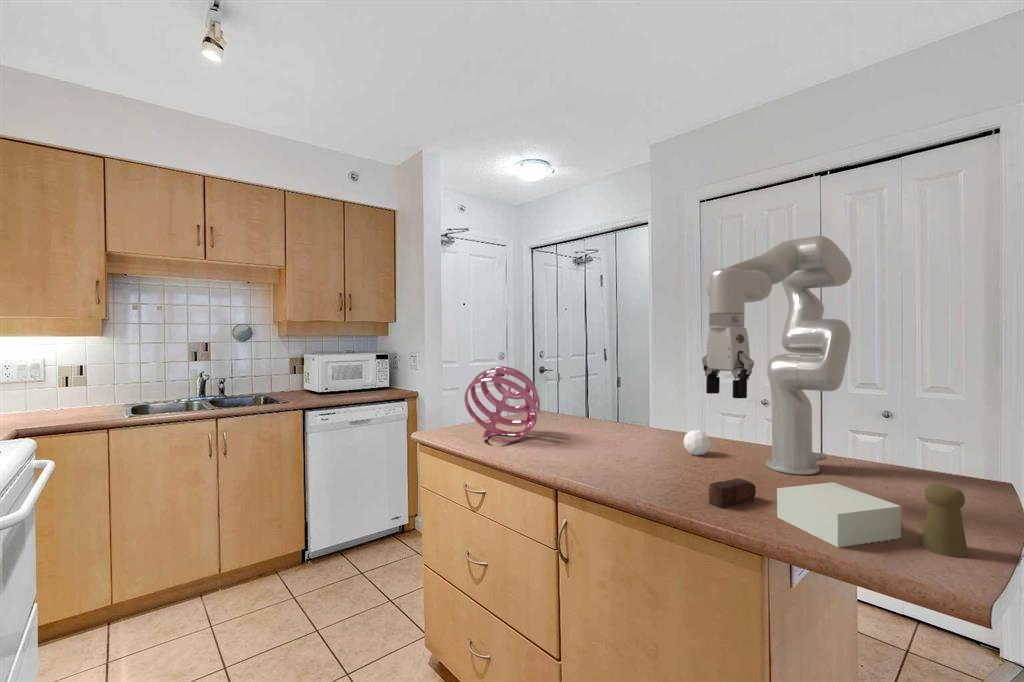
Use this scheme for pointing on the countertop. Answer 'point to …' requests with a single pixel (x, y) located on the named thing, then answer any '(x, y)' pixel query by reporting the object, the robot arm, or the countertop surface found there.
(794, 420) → the robot arm
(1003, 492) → the countertop surface
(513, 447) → the countertop surface
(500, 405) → the spiral basket
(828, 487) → the sage block
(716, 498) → the brick
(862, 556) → the countertop surface
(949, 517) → the cork
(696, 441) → the ball
